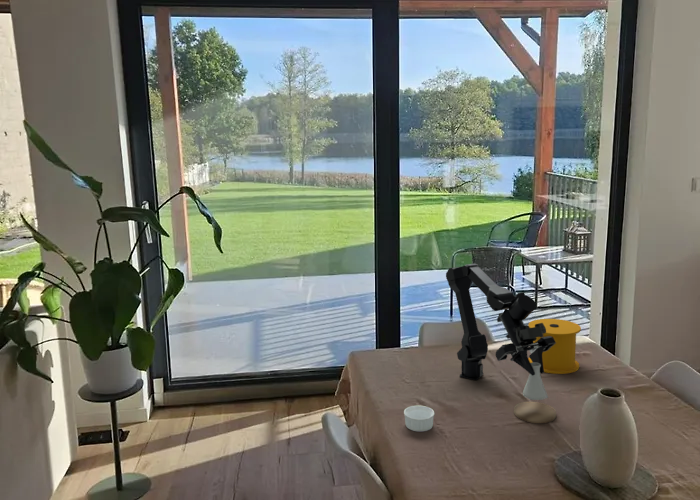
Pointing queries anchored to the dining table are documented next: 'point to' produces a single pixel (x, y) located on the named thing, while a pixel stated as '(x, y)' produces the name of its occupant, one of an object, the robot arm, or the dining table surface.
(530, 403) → the brass disc
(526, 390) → the flask
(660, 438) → the dining table surface
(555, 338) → the spool
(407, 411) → the ramekin
